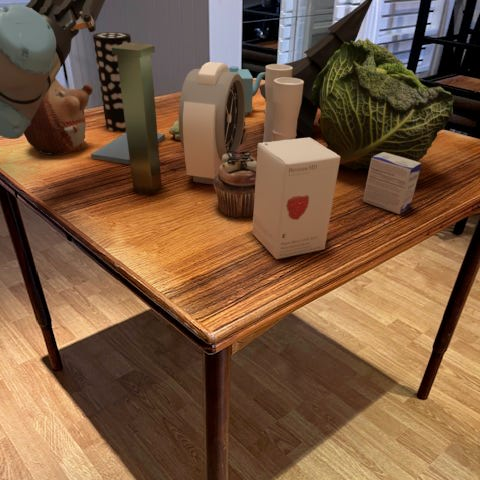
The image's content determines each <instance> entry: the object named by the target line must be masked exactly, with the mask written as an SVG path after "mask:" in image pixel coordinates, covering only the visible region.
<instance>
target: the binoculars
mask: <svg viewBox="0 0 480 480" xmlns="http://www.w3.org/2000/svg"><path fill="white" fill-rule="evenodd" d="M292 69H293V68H292V67H291V66H288V65H285V64H280V63H271V64H267V65H265V72H266V73H265V76H264V84H265V95H266V101H265V110H264V113H263V114H264V124H263V139H262V143H264V142H273V141H280V140H290V139H297V138H296V137H297V118H298V115H299V110H300V106H301V102H302V92H303V83H304V81H303V80H301V79H297V78H292Z"/></svg>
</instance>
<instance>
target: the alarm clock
mask: <svg viewBox="0 0 480 480" xmlns="http://www.w3.org/2000/svg"><path fill="white" fill-rule="evenodd" d="M229 67H230V66H228V65H227V64H226V62H216V61H208V62H205V63H204V64H203V65H202V66H201V67H200V68H194V69H191V70H190V71H189V72H188V74H187V75H186V77H185V79H184V81H183V85H182V88H181V91H180V98H179V102H178V104H179V105H178V119H179V134H180V140H179V141H180V144H181V147H182V149H183V151H184V154H183V155H184V163H185V171H186V176H192V179H193V181H192V182H193V183H200V184H205V185H213V186H214V178H215V176H216V174H217V173H218V170H219V167H220V166H221V164H223V162H222V156H223V155H224V154H227V153H226V152H227V151H230V150H232V151H234V152H238V153H239V149H240V146H241V143H242V138H243V136H242V133H243V134H244V129H243V127H244V120H246V119H245V117H246V116H245V90H244V84H243V80H242V78H241V76H240V75H239V74H238V73H237V72H229ZM244 128H245V127H244ZM235 155H236V156H237V154H235Z"/></svg>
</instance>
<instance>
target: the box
mask: <svg viewBox="0 0 480 480" xmlns="http://www.w3.org/2000/svg"><path fill="white" fill-rule="evenodd" d="M421 168H422V163H421V162H420V161H413V160H410V159H406V158H403V157H400V156H396V155H393V154H389V153H386V152H383V153H380V154H378V155H375V156H373V157H372V158H371V163H370V168H369V169H368V174H367V178H366V181H365V189H364V194H363V198H362V202H364V203H366V204H369V205H371V206H374V207H377V208H380V209H383V210H386V211H388V212H391V213H394V214H397V215H402V214H403V213H405V212H406V211H408V210H409V209H410V208H411V206H412V202H413V198H414V194H415V191H416V186H417V183H418V179H419V175H420V172H421Z"/></svg>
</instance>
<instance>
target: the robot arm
mask: <svg viewBox="0 0 480 480" xmlns="http://www.w3.org/2000/svg"><path fill="white" fill-rule="evenodd" d="M105 2H106V0H30V1H29V2H28V3H27V4H26V5H23V4H16V3H15V4H14V3H11V4H6V5H4V6H2V7H1V8H0V137H2V138H5V139H10V140H16V139H19V138H20V137H23V135H24V132H25V130H26V129H27V127H28V126H30V124H31V120H32V118H33V117H34V115H35V113H36V111H37V109H38V108H39V106H40V104H41V102H42V100H43V98H44V96H45V94H46V92H47V91H48V90H49V88H50V86H51V84H52V82H53V81H54V79H55V78H56V77H57V75H58V73H59V72H60V70H61V68H62V67H63V66H64V64H65V62H66V60H67V58H68V56H69V54H70V53H71V50H72V41H73V39H74V38H75V37H76V36H77V35H78V34H79V33H80V30H84V29H87V30H88V32H89V33H93V32H95V31H96V30H97V23H96V22H97V19H98V17H99V16H100V13H101V11H102V8H103V6H104V4H105Z"/></svg>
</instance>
